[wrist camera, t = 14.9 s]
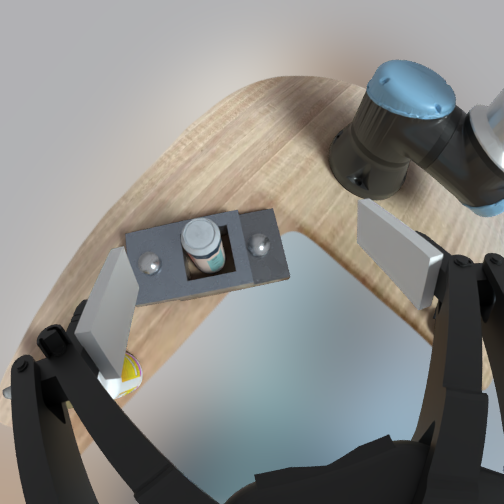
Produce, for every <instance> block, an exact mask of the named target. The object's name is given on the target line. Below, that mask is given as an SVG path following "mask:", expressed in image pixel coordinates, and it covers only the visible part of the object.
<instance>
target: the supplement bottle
mask: <svg viewBox="0 0 504 504" xmlns="http://www.w3.org/2000/svg"><path fill="white" fill-rule="evenodd" d="M142 376H143V373H142V368H141V365H140V363H139V362H138V360H137V359H136V358H135V357H134V356H132V355H131V354H129V353H126V352H125V357H124V363H123V369H122V374H121V378H119V379H107V380H105V378H104V377H103V376H102V374H101V373H100V371H99V374H98V380H99V381H100V383H101V384H102V385H103V386H104V388H105V389H106V390H107V392H108V393H109V394H110V395H111V397H112V398H113V399H114V400H115V399H117V398H119V397H122V396H124V395H126V394H128V393H131V392H132V391H134V390H136V389H137V388H138V387H139V385H140V384H141V381H142Z"/></svg>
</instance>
